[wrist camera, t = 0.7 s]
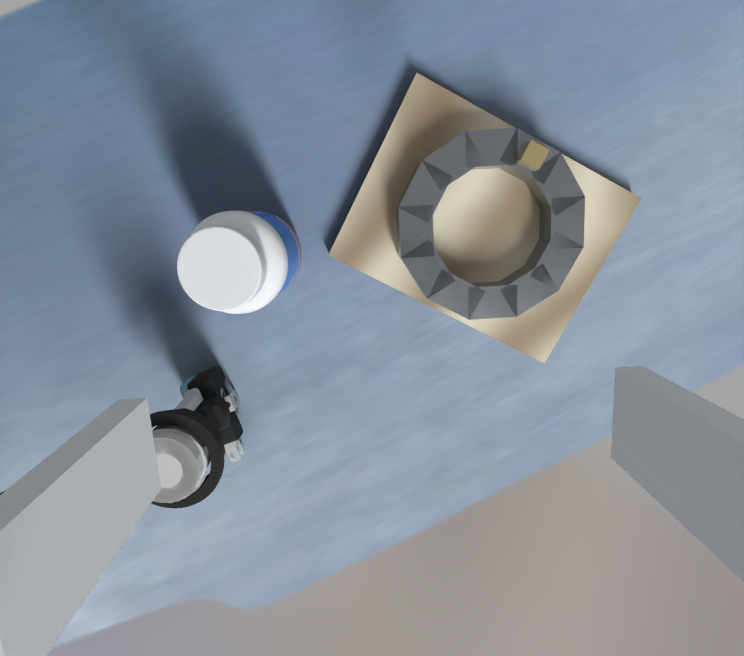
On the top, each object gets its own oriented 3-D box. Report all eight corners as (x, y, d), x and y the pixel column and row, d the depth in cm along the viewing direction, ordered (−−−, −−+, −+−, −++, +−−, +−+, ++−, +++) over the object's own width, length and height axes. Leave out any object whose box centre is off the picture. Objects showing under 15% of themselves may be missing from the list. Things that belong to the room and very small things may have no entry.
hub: (366, 265, 33) (367, 270, 30) (449, 100, 31) (458, 89, 28) (515, 340, 34) (529, 351, 32) (604, 187, 32) (626, 184, 30)
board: (329, 254, 34) (328, 255, 33) (414, 77, 32) (416, 72, 31) (539, 359, 36) (544, 363, 35) (633, 198, 33) (641, 198, 33)
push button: (275, 439, 36) (244, 520, 27) (205, 464, 37) (149, 554, 27) (237, 353, 35) (190, 406, 25) (165, 379, 35) (90, 442, 26)
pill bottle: (270, 194, 33) (234, 184, 23) (318, 265, 34) (302, 284, 24) (201, 241, 33) (138, 251, 24) (250, 310, 34) (208, 346, 25)
